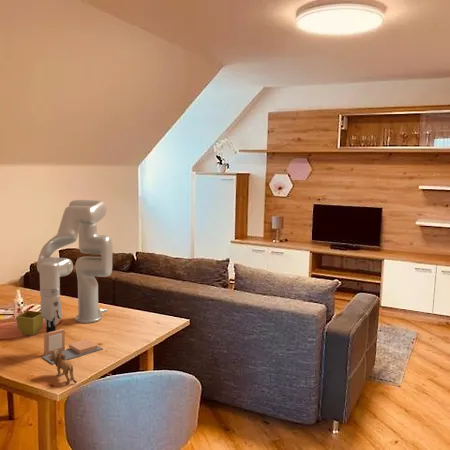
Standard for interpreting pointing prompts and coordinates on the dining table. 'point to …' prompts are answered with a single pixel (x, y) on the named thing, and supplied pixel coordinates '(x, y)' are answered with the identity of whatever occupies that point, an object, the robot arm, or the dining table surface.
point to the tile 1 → (54, 341)
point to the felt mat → (70, 354)
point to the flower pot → (29, 322)
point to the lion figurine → (62, 364)
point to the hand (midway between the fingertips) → (51, 335)
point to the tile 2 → (83, 346)
